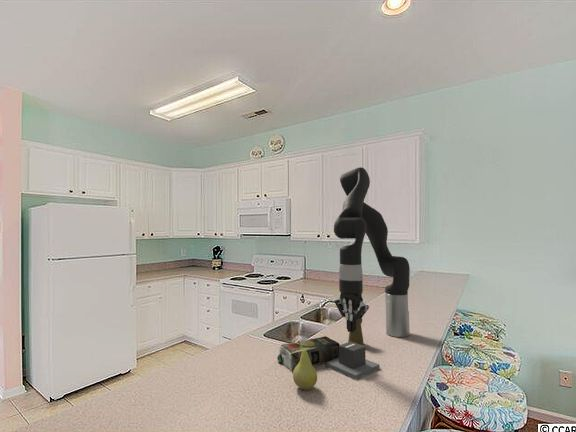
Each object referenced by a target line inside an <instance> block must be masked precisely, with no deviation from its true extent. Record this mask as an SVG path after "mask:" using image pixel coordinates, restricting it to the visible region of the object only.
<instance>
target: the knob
mask: <svg viewBox="0 0 576 432" xmlns="http://www.w3.org/2000/svg"><path fill="white" fill-rule="evenodd" d="M366 360H367V359H366V346H365V345H360V344H357V343H354V342H351V341H350V342H348V341H347V342H345V343H342V344H340V345H339V363H341V364H343V365H345V366H348V367H350V368H352V369H355V368H357V367H360V366H362V365H364V364H366Z"/></svg>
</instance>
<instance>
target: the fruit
mask: <svg viewBox="0 0 576 432" xmlns="http://www.w3.org/2000/svg"><path fill="white" fill-rule="evenodd" d="M299 341H300V340H297V341H296V342H298V343H299V345H300V346H301V348H302V354H301V358H300V362H299V363H298V365H297V366H296V367H295V369H294V370H292V371H293V372H292V380H293V382H294V384H295V386H297V387H298V388H299V389H301V390H303V391H308V390H311V389H313V388H314V387H315V386H316V384H317V381H318V373H317V371H316V369H315V367H314V365H313V366H312V364H311V361H310V358H309V356H308V353H307V351H306V350H305V349H303V347H302V345H301V343H300V342H299Z"/></svg>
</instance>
